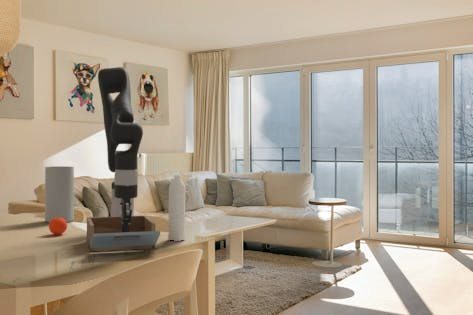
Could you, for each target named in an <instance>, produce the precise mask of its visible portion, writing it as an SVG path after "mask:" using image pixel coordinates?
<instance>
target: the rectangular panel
mask: <svg viewBox="0 0 473 315" xmlns="http://www.w3.org/2000/svg"><path fill="white" fill-rule="evenodd" d="M160 236H161V231H160V230H155V231H146V232H121V233H96V234H93V236H92V242H91V248H100V247H121V246H142V245H155V246H156V245H157V242H158V240H159V238H160Z"/></svg>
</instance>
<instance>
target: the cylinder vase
mask: <svg viewBox="0 0 473 315" xmlns="http://www.w3.org/2000/svg"><path fill="white" fill-rule="evenodd" d="M74 175H75V168H74V166H62V165H61V166H45V170H44V177H45V179H44V186H45V187H44V190H45V191H44V192H45V193H44V197H45V198H44V202H45V205H44V206H45V207H44V210H45V211H44V216H45V217H44V221H45V222H46V223H48V224H49V223H50V221H51V220H52V219H53V218H56V217H60V218H63V219H64V220H65V221H66V223H70V222H74V219H75V218H74V216H75V214H74V212H75V211H74V209H75V206H74V201H75V199H74V198H75V194H74V193H75V190H74V189H75V186H74V184H75V182H74V181H75V178H74V177H75V176H74Z"/></svg>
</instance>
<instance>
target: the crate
mask: <svg viewBox="0 0 473 315" xmlns="http://www.w3.org/2000/svg"><path fill="white" fill-rule="evenodd" d="M146 231H156V222H154V220H152V219H151V218H150V217H149V216H147V215H134V216H131V223H130V224H129V232H146ZM121 232H122V223H121V216H116V217H111V216H93V217H91V216H90V217H86V243H88V244H87V245H88V246H89V247H88V249H90V250H89V252H90V253H93V252H92V251H100V252H105V251H104V250H120V251H132V250H131V249H140V250H154V249H156V245H142V246H121V247H100V248H91V242H92V236H93V234H96V233H121Z"/></svg>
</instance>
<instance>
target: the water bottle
mask: <svg viewBox="0 0 473 315" xmlns="http://www.w3.org/2000/svg"><path fill="white" fill-rule="evenodd" d="M184 176H185V178H192V173H191V174H190V173H186V174H184ZM181 178H182V177H181V174H174V175H173V179H172V181H171V182H170V183H169V186H168V209H167V210H168V223H167V224H168V225H167V226H168V228H167V229H168V230H167V232H168V235H167V239H169V240H168V241H170V240H174V241H173V242H182V241H181V240H184V241H185V240H186V216H187V215H186V194H187V193H186V191H187V190H186V189H187V188H186V185H185V183H184V181H183V180H182V179H181Z"/></svg>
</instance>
